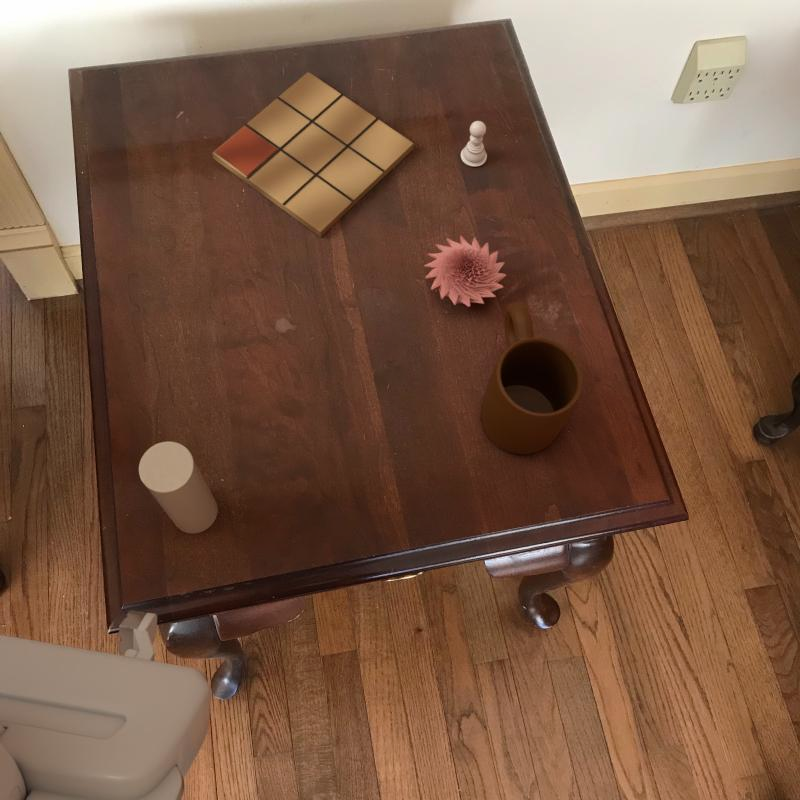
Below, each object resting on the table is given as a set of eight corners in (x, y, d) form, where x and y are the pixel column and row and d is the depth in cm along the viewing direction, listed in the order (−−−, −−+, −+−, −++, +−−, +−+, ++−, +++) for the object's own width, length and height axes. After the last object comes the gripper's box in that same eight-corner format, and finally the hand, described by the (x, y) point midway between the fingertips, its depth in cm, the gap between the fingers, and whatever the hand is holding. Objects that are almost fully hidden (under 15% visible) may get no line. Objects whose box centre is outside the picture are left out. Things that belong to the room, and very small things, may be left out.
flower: (498, 328, 81) (508, 299, 76) (417, 320, 81) (421, 290, 76) (502, 260, 85) (511, 228, 79) (424, 251, 84) (428, 219, 79)
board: (213, 159, 88) (211, 151, 87) (308, 78, 93) (308, 70, 92) (320, 237, 85) (320, 231, 84) (413, 149, 90) (414, 142, 89)
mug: (462, 346, 80) (475, 296, 72) (538, 336, 81) (560, 285, 73) (488, 462, 76) (505, 424, 67) (568, 451, 77) (595, 411, 68)
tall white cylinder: (161, 513, 72) (127, 469, 61) (194, 480, 74) (166, 430, 63) (194, 543, 72) (165, 503, 61) (227, 508, 73) (204, 463, 62)
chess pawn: (469, 171, 89) (476, 139, 84) (455, 153, 90) (460, 120, 85) (491, 161, 89) (499, 128, 85) (477, 142, 90) (483, 109, 86)
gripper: (159, 798, 32) (250, 590, 44) (-361, 706, 32) (-123, 527, 45) (153, 914, 34) (241, 685, 47) (-333, 826, 34) (-113, 623, 47)
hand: (60, 607), depth 46 cm, fingers open, 8 cm apart
